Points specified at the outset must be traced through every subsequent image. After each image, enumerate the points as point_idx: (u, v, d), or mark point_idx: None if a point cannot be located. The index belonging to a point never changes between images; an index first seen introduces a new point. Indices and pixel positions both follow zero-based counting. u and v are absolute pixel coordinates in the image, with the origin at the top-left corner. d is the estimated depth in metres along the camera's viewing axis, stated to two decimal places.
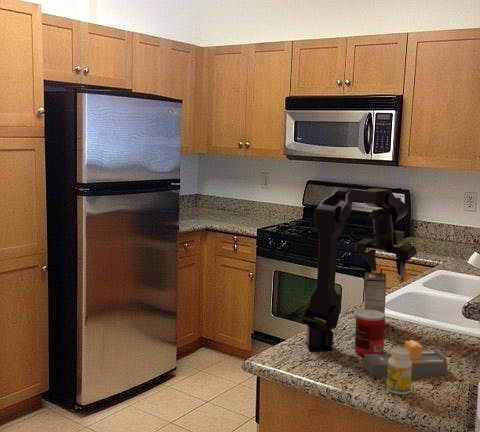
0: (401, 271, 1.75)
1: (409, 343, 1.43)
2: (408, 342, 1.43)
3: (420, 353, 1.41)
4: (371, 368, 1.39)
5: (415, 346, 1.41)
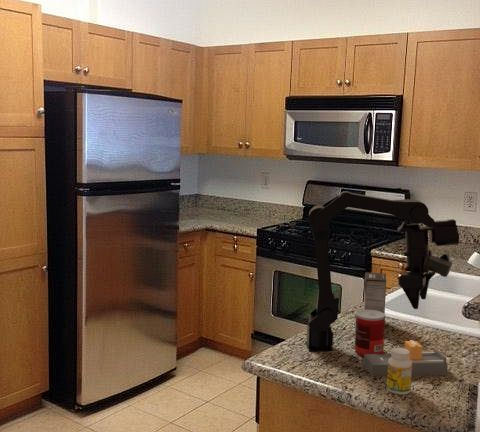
0: (413, 302, 1.48)
1: (409, 343, 1.43)
2: (408, 342, 1.43)
3: (420, 353, 1.41)
4: (371, 368, 1.39)
5: (415, 346, 1.41)
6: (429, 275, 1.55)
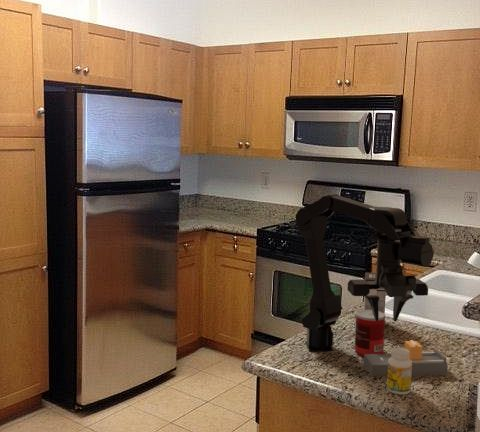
0: (373, 313, 1.41)
1: (409, 343, 1.43)
2: (408, 342, 1.43)
3: (420, 353, 1.41)
4: (371, 368, 1.39)
5: (415, 346, 1.41)
6: (400, 296, 1.38)
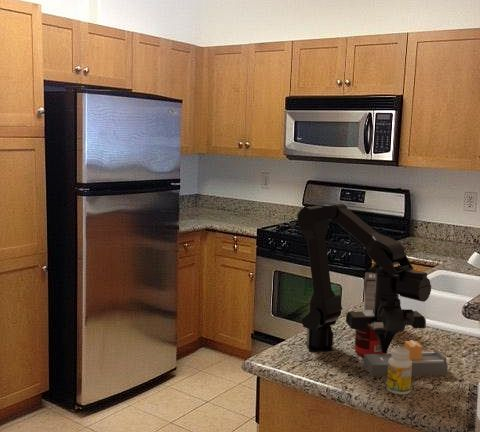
0: (380, 344, 1.42)
1: (409, 343, 1.43)
2: (408, 342, 1.43)
3: (420, 353, 1.41)
4: (371, 368, 1.39)
5: (415, 346, 1.41)
6: None
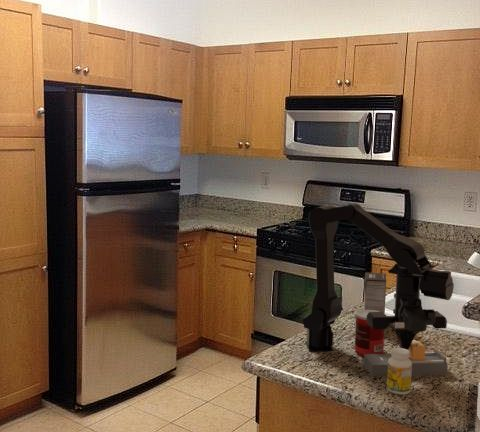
0: (400, 344, 1.42)
1: (412, 343, 1.43)
2: None
3: (423, 353, 1.41)
4: (371, 368, 1.39)
5: (418, 346, 1.41)
6: None
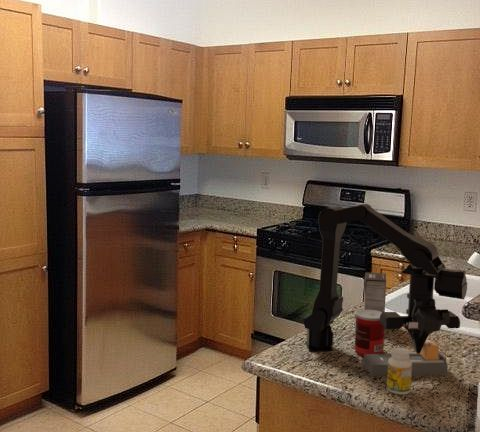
0: (413, 344, 1.43)
1: (425, 343, 1.43)
2: None
3: (436, 353, 1.41)
4: (371, 368, 1.39)
5: (431, 346, 1.41)
6: None
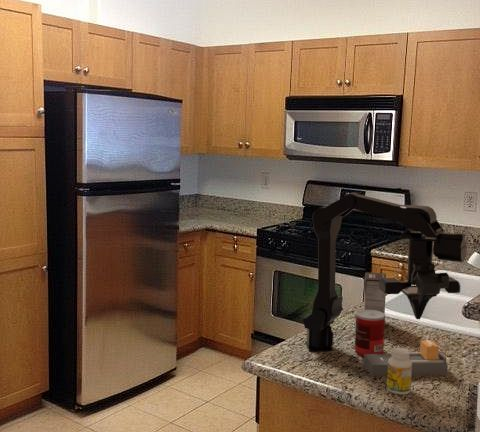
0: (413, 311, 1.41)
1: (425, 343, 1.43)
2: (424, 342, 1.44)
3: (436, 353, 1.41)
4: (371, 368, 1.39)
5: (431, 346, 1.41)
6: (424, 294, 1.38)
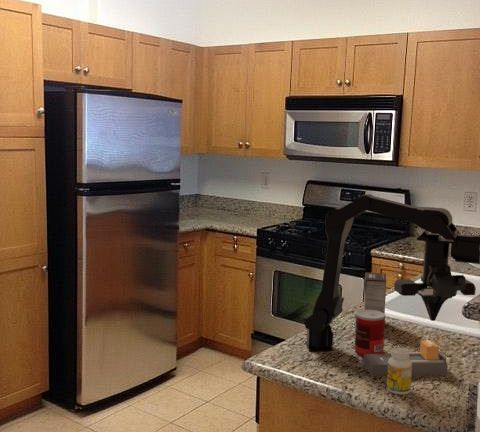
0: (428, 312, 1.42)
1: (425, 343, 1.43)
2: (424, 342, 1.44)
3: (436, 353, 1.41)
4: (371, 368, 1.39)
5: (431, 346, 1.41)
6: (439, 296, 1.39)
